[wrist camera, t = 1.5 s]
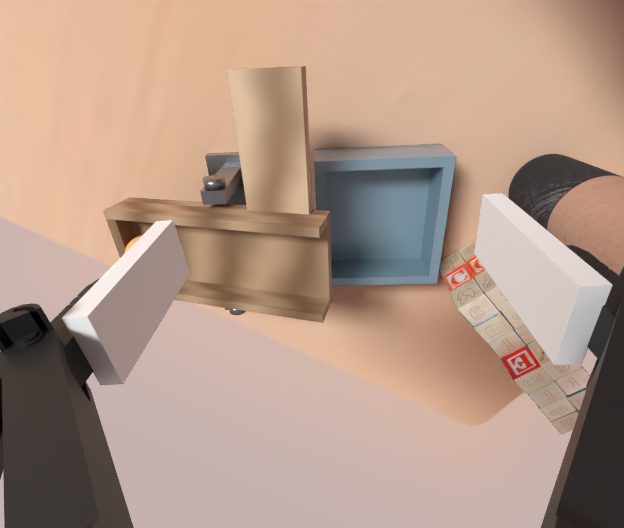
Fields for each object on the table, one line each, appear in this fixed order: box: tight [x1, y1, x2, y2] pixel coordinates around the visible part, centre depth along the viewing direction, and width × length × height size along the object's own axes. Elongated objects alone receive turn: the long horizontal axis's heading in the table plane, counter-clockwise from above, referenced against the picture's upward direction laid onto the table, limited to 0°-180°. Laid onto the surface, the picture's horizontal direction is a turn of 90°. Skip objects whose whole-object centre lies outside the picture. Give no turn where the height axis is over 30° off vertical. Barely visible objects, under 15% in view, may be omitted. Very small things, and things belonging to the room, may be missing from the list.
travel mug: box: [509, 154, 624, 279], centre depth 31 cm, size 8×8×20 cm
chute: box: [103, 66, 332, 323], centre depth 32 cm, size 20×20×6 cm
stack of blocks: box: [439, 238, 590, 434], centre depth 42 cm, size 21×6×12 cm, turn 42°
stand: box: [201, 152, 246, 315], centre depth 38 cm, size 6×14×10 cm, turn 3°
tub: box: [315, 144, 456, 286], centre depth 39 cm, size 13×14×5 cm
